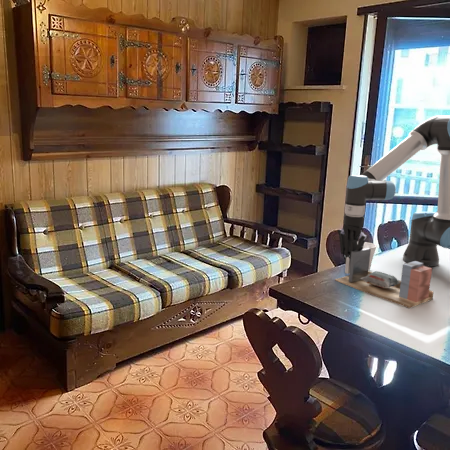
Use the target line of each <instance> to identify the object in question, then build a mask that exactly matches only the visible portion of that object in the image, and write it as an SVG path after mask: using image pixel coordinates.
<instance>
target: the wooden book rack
mask: <svg viewBox="0 0 450 450" xmlns="http://www.w3.org/2000/svg"><path fill="white" fill-rule="evenodd" d="M423 264H424V263H421V262H418V261H413V262H409V263H407V262H405V263H403V264H402V271H401V278H400V280H399V279H397V280H398V281H399V282H400V284H397V285H395V286H392V287H389V288H381V287H377V286H374V285H371V284H368V283H367V282H366V281H364V280H359V281H356V282H349V275H346V276H342V277H339V278H335V281H336V282H339V283H341V284H342V285H346V286H348V287H350V288H353V289H356V290H357V291H360V292H363V293H365V294H369V295H372V296H374V297H378V298H380V299H383V300H385V301H389V302H391V303H395V304H396V305H400V306H403V307H406V308H408V309H411V308H414V307H416V306H419V305H422V304H424V303H426V302H430V301H432V300H433V299H434V291H433V290H430V288H431V282H432V281H431V280H432V273H433V267H430V266H423ZM372 272H373V271H370V270H368V275H369V274H370V273H372Z"/></svg>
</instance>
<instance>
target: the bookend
mask: <svg viewBox="0 0 450 450" xmlns="http://www.w3.org/2000/svg"><path fill="white" fill-rule="evenodd" d="M370 251H371V249H369V248H365V249H360V250H356V251H351V261H350V271H349V274H348V276H349V282H356V281H359V280H361V278H364V277H366V276H367V275H368V271H370V269H369V260H370Z"/></svg>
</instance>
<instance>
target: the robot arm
mask: <svg viewBox="0 0 450 450" xmlns="http://www.w3.org/2000/svg"><path fill="white" fill-rule="evenodd" d="M433 145H437V146H436V150H437V152H438V153H439V154H440V164H439V167H440V168H439V176H438V177H439V179H438V193H437V194H438V198H437V211H415V212H413V213H412V215H411V216H412V217H411V221H410V222H411V225H410V233H409V240H408V241H409V242H408V244H407V246H406V248H405V250H404V253H403V255H402V260H403V261H404V262H405V263H409V262H413V261H418V262H421V263H424V264H423V266H426V267H436V266H439V264H440V256H439V250H438V247H441V248H443V249H448V250H450V115H446V114H445V115H441V114H440V115H434V116H432V117H430V118H428V119H426V120H424V121H423V122H422V123H420V124H418V125H417V126H416V127H414V128H413V129H411V130H410V132H409V133H408V136H407V137H406V138H405V139H403V140H402V141H401V142H400V143H399V144H397V145H396V146H394V147H393V148H392V149H391V150H389V152H387V153H386V154H385V155H383V156H382V157H381V158H380V159H379V160H377V161H376V162H374V164H373V165H371V166H370V167H369V168H368V169H366V170H364V172H362V173H361V174H351V175H349V176H348V178H347V183H346V193H345V205H344V206H345V207H344V215H343V227H342V228H341V229H338V230H337V234H338V237H339V245H340V248H339V249H340V253H341V255H343V256H344V265H345V266H344V267H345V269H344V273H345V274H347V275H349V271H350V261H351V251H356V250H360V249H363V246H364V243H365V242H366V240H367V239H368V237H369V235H367V234H365V233H364V230H363V227H364V221H365V216H364V215H365V214H366V212H365V211H366V204H367V203H366V202H367V201H387V200H388V201H389V200H392V199H393V198H394V197H395V195H396V189H397V188H396V185H395V183H394V182H393V181H391V180H386V178H387V177H388V176H390V175H391V174H392V173H393V172H395V171H396V170H397V169H398V168H400V167H401V166H402V165H404V164H405V163H407V161H408V160H410V159H411V158H412V157H414V155H416V154H417V153H418V152H420V151H425V150H426V149H427V148H428V147H430V146H433ZM357 242H358V244H357Z"/></svg>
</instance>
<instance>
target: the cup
mask: <svg viewBox="0 0 450 450" xmlns="http://www.w3.org/2000/svg"><path fill="white" fill-rule="evenodd" d="M357 244H358V242H357ZM365 248H369V249H371V251H370V260H369V270H370V269H371V266H372V262H373V259H374V256H375V253H376V249H377V244H375V243H372V242H367V241H365V243H364V246H363V249H365Z"/></svg>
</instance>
